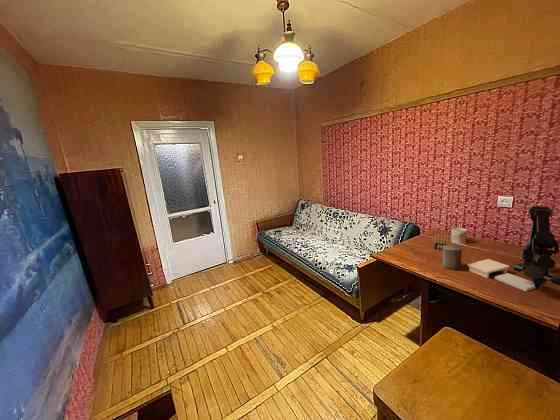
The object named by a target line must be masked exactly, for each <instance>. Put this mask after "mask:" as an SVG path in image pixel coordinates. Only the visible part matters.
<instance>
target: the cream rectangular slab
mask: <svg viewBox="0 0 560 420" xmlns="http://www.w3.org/2000/svg"><path fill="white" fill-rule="evenodd" d="M467 267H469V268H468V272H471V273H474V274H476V275H479V276H481V277H483V278H486V279H489V277H490V274H491V273H495V272H501V273H502V274H505V273H508V269H509V268H510V265H508V264H505V263H502V262H499V261H497V260H496V261H495V260H493V259H490V258H486V259H483V260H478V261H475V262H472V263H467Z"/></svg>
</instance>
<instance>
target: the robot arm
mask: <svg viewBox="0 0 560 420" xmlns="http://www.w3.org/2000/svg"><path fill="white" fill-rule="evenodd" d="M527 210H528V215H529V218H530V220H531V221H532V225H531V231H530V236H529V242H528V243H527V244H526V245H524V249H522V251H521V256H520V257H521V260H523V263H522V262H520V263H516V264H514V265H513V267H512V269H513V271H516V272H523V275H524V276H525V277H528V278H530V279H531V281H532V282H533V283H534V285H535V289H536V290H540V289H541V288H542V287H543V286H544V284H546V283H547V282H551V283H552V284H555V285H558V286H560V274H557V275H553V274H551V273H552V272H551V270H550V269H553V268H555V266H556V261H555V259H554V258H553V255H558V253H559V251H560V248H559V242H558V240H557V239H556V237H555V234H554V233H552V232H551V225H550V217H552V216H553V212H554V208H550V207H549V206H544V205H543V206H542V205H541V206H540V205H539V206H537V205H534V206H533V205H531V207H528V209H527Z"/></svg>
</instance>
